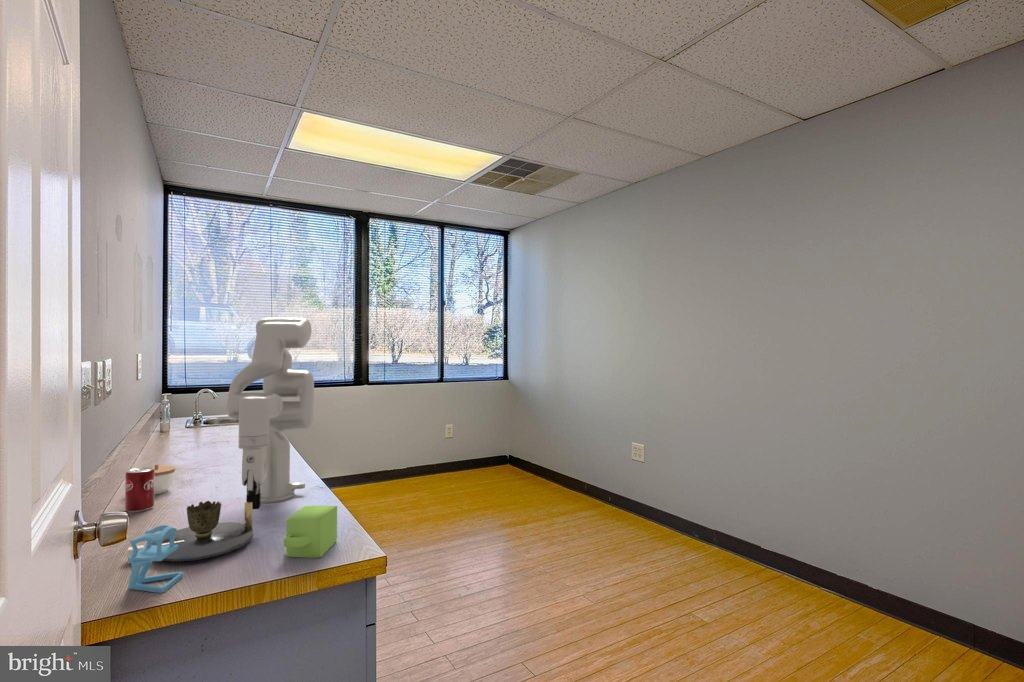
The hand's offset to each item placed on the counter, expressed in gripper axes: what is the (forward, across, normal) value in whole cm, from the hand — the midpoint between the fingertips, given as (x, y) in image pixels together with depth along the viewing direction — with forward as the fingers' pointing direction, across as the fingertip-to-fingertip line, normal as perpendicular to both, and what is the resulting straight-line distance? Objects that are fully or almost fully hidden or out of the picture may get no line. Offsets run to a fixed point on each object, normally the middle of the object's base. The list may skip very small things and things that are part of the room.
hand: (253, 508), depth 139 cm
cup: (+4, -10, +10) cm, 14 cm away
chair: (+6, -29, +14) cm, 33 cm away
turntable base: (+6, -11, +13) cm, 18 cm away
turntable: (+5, -10, +10) cm, 15 cm away
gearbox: (+6, -18, -16) cm, 25 cm away
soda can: (+6, +29, +36) cm, 47 cm away
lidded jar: (+6, +48, +38) cm, 62 cm away
